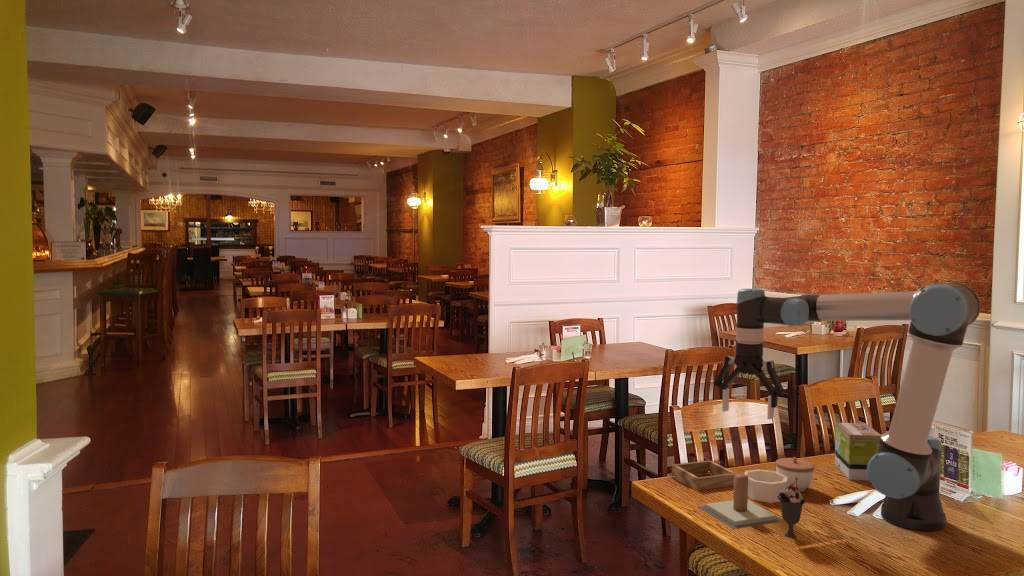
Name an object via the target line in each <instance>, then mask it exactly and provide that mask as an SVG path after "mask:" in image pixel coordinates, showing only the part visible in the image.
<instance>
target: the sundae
mask: <svg viewBox="0 0 1024 576" xmlns="http://www.w3.org/2000/svg"><path fill="white" fill-rule="evenodd" d="M797 479H798V478H795V481H796V486H797ZM794 483H795V482H794ZM794 483H793V484H794ZM793 484H792V485H791V484H790V485H789V486H788V487H787V488H785V490H784V491H783V492H781V493H779V496H778V499H779V500H780V502H779V503H780V507H781V508H780V509H781V516H782V520H784V522H785V523H786V524H787V525H788V526H787V527H788V528H787V529H788V530H787V532H786V533H784V537H786V538H788V539H797V537H798V536H797V535H796V534H795V533H794V526H795V525H796V524H798V523H799V521H800V520H801V516H802V511H803V505H804V504H805V503H806V501H807V499H806V498H804V497H803V494H802V493H801V492H799V491H798V490H799V488H798V487H794V486H793Z"/></svg>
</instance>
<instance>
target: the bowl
mask: <svg viewBox="0 0 1024 576" xmlns="http://www.w3.org/2000/svg"><path fill="white" fill-rule="evenodd" d="M743 474H744V475H747V476H748V498H749V499H750V500H752V501H758V502H764V503H769V504H773V503H781V502H780V500H779V499H778V496H779V493H781V492H783V491H784V490H785V488H787V487H788V477H787V476H785V475H783V474H780V473H778V472H776V470H775V471H774V470H767V469H758V468H757V469H750V470H745V471H744V473H743Z"/></svg>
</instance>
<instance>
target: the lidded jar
mask: <svg viewBox="0 0 1024 576" xmlns="http://www.w3.org/2000/svg"><path fill="white" fill-rule="evenodd" d="M775 465H776V466H775V468H776V469H775V472H778V473H780V474H783V475H785V476H787V477H788V486H789V485H790V484H791V485H792V484H793V483H794V482H795V483H794V484H793V486H794V487H798V488H799V490H798V491H799V492H800V493H801V492H802V493H803V492H805V491H806V490H807V489H808V487H810V486H811V485H812V483H813V479H814V474H815V473H814V472H815V464H814V463H813V462H811V461H809V460H805V459H801V458H797V457H795V456H794V457H783V458H778V459H776V461H775ZM795 478H798V479H797V486H796V481H795Z"/></svg>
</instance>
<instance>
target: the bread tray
mask: <svg viewBox="0 0 1024 576" xmlns="http://www.w3.org/2000/svg"><path fill="white" fill-rule="evenodd" d="M708 471H710V472H709V473H711V474H712V475H713V476H712V475H707V476H698V475H697V474H704V475H706V474H705V473H708ZM735 474H738V473H736V472H734V471H732V470H730V469H728V468H726V467H725V466H722V465H720V464H718V463H716V462H715V461H712V460H701V461H694V462H693V461H691V462H684V463H673V464H671V479H673V480H676V481H677V482H679V483H681V484H683V485H685V486H686V487H688V488H689V489H694V490H696V491H702V490H703V491H704V490H709V489H717V488H725V487H726V488H727V487H731V486H733V487H734V475H735ZM695 475H696V476H695ZM672 476H675V477H672Z"/></svg>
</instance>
